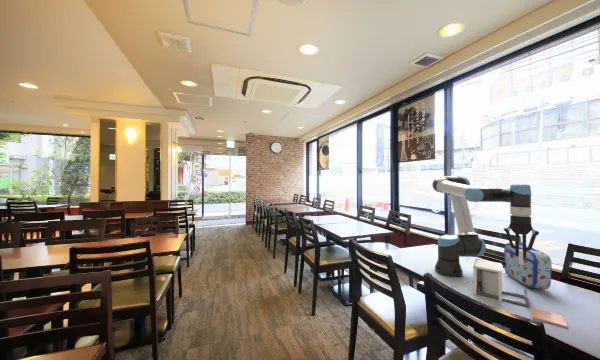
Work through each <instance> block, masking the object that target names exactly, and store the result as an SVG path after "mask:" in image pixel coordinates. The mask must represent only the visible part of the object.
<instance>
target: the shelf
mask: <svg viewBox="0 0 600 360" xmlns="http://www.w3.org/2000/svg"><path fill="white" fill-rule="evenodd" d="M473 263H474V264H473V265H472V266H473V267H472V268H473V286H472V288H473V295H475V296H477V295H478V284H479V281H481V269H483V270H488V271H493V272H498V273H499V299H498V302H503V300H502V297H503V295H502V294H503V293H502V290H503V286H502V285H503V275H502V274H503V271H502V270H503V262H502V263H501V262H496V261H491V260H486V259H479V258H475V259H474V262H473Z"/></svg>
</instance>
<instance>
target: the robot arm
mask: <svg viewBox="0 0 600 360" xmlns="http://www.w3.org/2000/svg"><path fill="white" fill-rule="evenodd" d="M431 185H432V188H433V190H434V191H435V192H437V193H441V194H447V196H448V197H449V198H451V203H452V208H453V213H454V218H455V222H456V226H457V229H458V230H457V231H458V234H457V235H453V234H444V235H440V236H439V237H438V239H437V260H436V263H435V266H434V271H435V272H436V273H438V274H440V275H443V276H446V277H449V278H450V277H452V278H461V277H463V275H464V274H463V273H464V272H463V269H462V265H461V263H460V257H464V258H465V257H466V258H467V257H468V258H470V257H472V258H475V257H482V256H483V255H484V254H485V252H486V250H487V247H486V246H487V245H486V242H485V241H484V239H483V238H482V237H481V238H480V237H479V234H478V233H477V232H475V229H474V225H473V221H472V216H471V212H470V208H469V203H468V202H471V203H483V202H484V203H487V202H488V203H489V202H490V203H493V202H495V203H499V202H500V203H501V202H502V203H510V207H509V211H510V212H509V213H510V216H509V219H510V220H509V221H510V223H509V225H508V226H507V227H504V228H503V231H504V232H505V233H506V237H507V239H508V243H510V246H511V248H514V249H515V251H516V256H519V264H523V257H526V251H528V250H532V248H533V246H534V243H535V240H536V239H537V237H538V235H539V234H540V232H539V231H538V230H536V229H534V227H533V226H532V217H531V216H532V189H531V185H530V184H525V183H524V184H518V183H517V184H516V183H515V184H514V183H512V184H510V186H509V187H498V186H497V187H477V186H474V185H473V186H472V185H471V182H470V180H469V179H468V178H467V177H465V176H462V175H461V176H460V175H450V176H449V175H445V176H444V175H441V176H438V177H436V178H435V179H434V180H433V181H432V184H431ZM511 231H512V232H513V233H514V234H515V235H514V236H515V238H514V239H515V243H514V241H513V239H512V237H511V236H512V235H511ZM530 233H531V235H530V236H531V237H530V239H529V243H528V245H527V236H528V234H530ZM520 235H522V236H521V237H522V241H521V242H522V244H523V250H521V249H519V242H520ZM513 243H514V244H515V246H514V245H513ZM526 246H528V247H526Z"/></svg>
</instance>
